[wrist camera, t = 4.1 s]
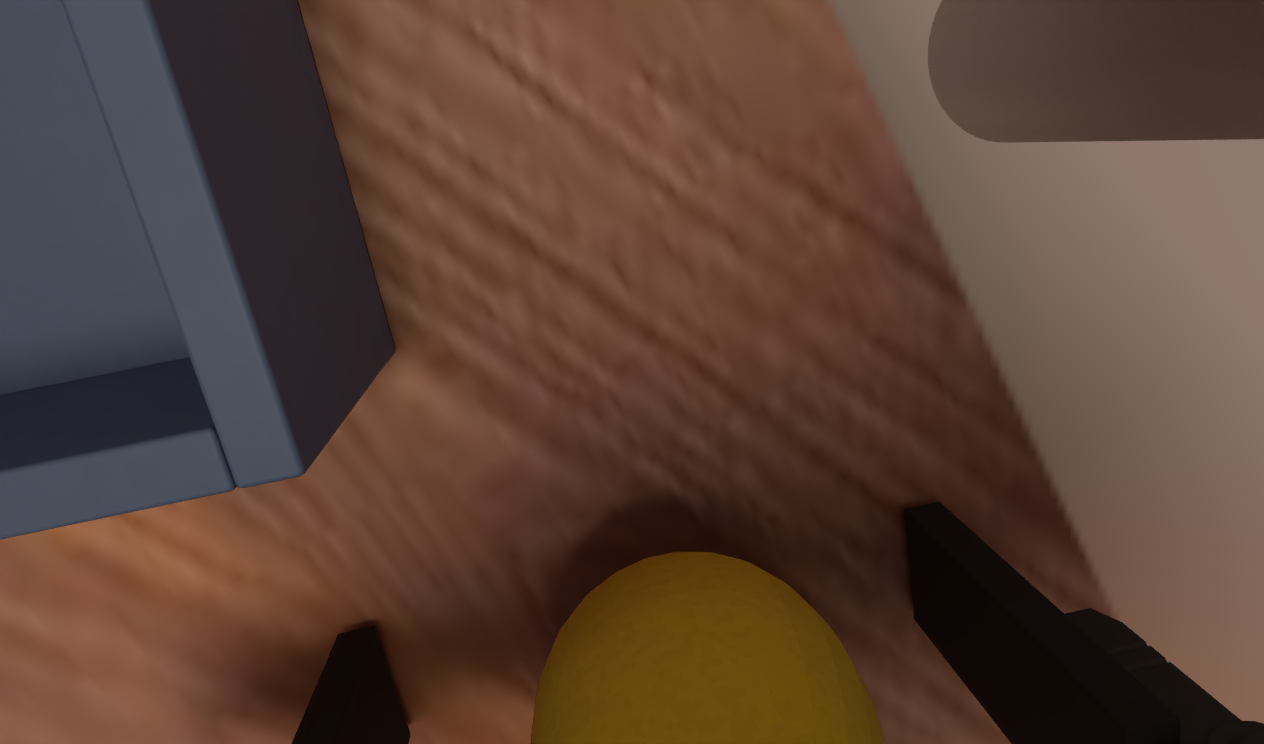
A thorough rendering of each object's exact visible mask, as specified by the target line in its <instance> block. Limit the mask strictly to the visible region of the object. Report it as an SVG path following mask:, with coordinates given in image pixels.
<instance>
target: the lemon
mask: <svg viewBox="0 0 1264 744" xmlns="http://www.w3.org/2000/svg"><path fill="white" fill-rule="evenodd" d="M531 744H884V740H883V735H882V731H881V727H880V724H879V721H878V717H877V714H876V711H875V708H874V706H873V703H872V701H871V698H870V696H869V693H868V691H867V689H866V687H865V685H864V683H863V681H862V679H861V677H860V676H859V674H858V672H857V670H856V668H855V666H854V664H853V663H852V661H851V659H850V657H849V655H848V653H847V652H846V650H845V648H844V646H843V644H842V643H841V641H840V640H839V638H838V637H837V635H836V634H835V632H834V631H833V630H832V629H831V627H830V626H829V625H828V624H827V622H826V621H825V620H824V619H823V618H822V617H821V616H820V615H819V614H818V613H817V612H816V611H815V610H814V609H813V608H812V607H811V606H810V605H809V604H808V603H807V602H806V601H805V600H804V599H803V598H802V597H801V596H800V595H799V594H798V593H797V592H796V591H795V590H793V589H792V588H791V587H790V586H789V585H787V584H786V583H785V582H783V581H782V580H780V579H778V578H777V577H775V576H773V575H771V574H769V573H768V572H766V571H764V570H762V569H760V568H759V567H757V566H755V565H753V564H751V563H749V562H747V561H744V560H741V559H737V558H733V557H729V556H725V555H721V554H717V553H713V552H672V553H667V554H663V555H658V556H653V557H649V558H645V559H643V560H640V561H638V562H636V563H634V564H632V565H630V566H628V567H626V568H623V569H621V570H619V571H617V572H615V573H614V574H612V575H611V576H610V577H609V578H607V579H606V580H605V581H604V582H602V583H601V584H600V585H598V586H597V587H596V588H595V589H593V590H592V591H591V592H590V593H588V594H587V595H586V596H585V598H584V599H583V600H582V601H581V603H580V604H579V605H578V607H577V608H576V609H575V610H574V612H573V613H572V614H571V615H570V617H569V618H568V619H567V621H566V622H565V623H564V625H563V626H562V627H561V629H560V631H559V633H558V635H557V637H556V640H555V642H554V644H553V647H552V649H551V652H550V654H549V656H548V659H547V661H546V663H545V666H544V668H543V671H542V674H541V677H540V680H539V684H538V689H537V695H536V702H535V710H534V718H533V727H532V735H531Z"/></svg>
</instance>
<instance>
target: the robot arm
mask: <svg viewBox="0 0 1264 744" xmlns="http://www.w3.org/2000/svg"><path fill="white" fill-rule="evenodd" d="M904 510H905V521H906V533H907V544H908V555H909V566H910V578H911V589H912V600H913V611H914V620H915V621H916V622H917V623H918V625H919V626H920V627H921V629H922V630H923V631H924V632H925V634H926V635H927V636H928V637H929V639H930V640H931V641H932V643H933V644H934V645H935V646H936V648H937V649H938V650H939V652H940V653H941V654H942V655H943V657H944V658H945V659H946V660H947V662H948V663H949V664H950V666H951V667H952V668H953V669H954V671H955V672H956V673H957V675H958V676H959V677H960V678H961V680H962V681H963V682H964V683H965V685H966V686H967V687H968V689H969V690H970V691H971V692H972V694H973V695H974V696H975V698H976V699H977V700H978V701H979V703H980V704H981V705H982V706H983V708H984V709H985V710H986V712H987V713H988V714H989V715H990V717H991V718H992V719H993V721H994V722H995V723H996V724H997V726H998V727H999V728H1000V729H1001V731H1002V732H1003V733H1004V735H1005V736H1006V737H1007V738H1008V740H1009V741H1010V742H1011V743H1012V744H1264V724H1263V723H1259V722H1255V721H1241V720H1240V719H1239V718H1238V717H1236V716H1235V715H1234V714H1233V713H1231V712H1230V711H1229V710H1228V709H1227V708H1225V707H1224V706H1223V705H1222V704H1220V703H1219V702H1218V701H1217V700H1216V699H1214V698H1213V697H1212V696H1211V695H1210V694H1208V693H1207V692H1206V691H1205V690H1204V689H1202V688H1201V687H1200V686H1199V685H1197V684H1196V683H1195V682H1194V681H1193V680H1191V679H1190V678H1189V677H1188V676H1186V675H1185V674H1184V673H1183V672H1181V671H1180V670H1179V669H1178V668H1177V667H1176V666H1174V665H1173V664H1172V663H1171V662H1169V663H1167V661H1166V659H1165V657H1163V656H1162V655H1161V654H1160V653H1159V652H1157V651H1156V650H1155V649H1154V648H1152V647H1151V646H1147V644H1146V642H1145V641H1144V640H1143V639H1142V638H1140V637H1139V636H1138V635H1137V634H1135V633H1134V632H1133V631H1132V630H1131V629H1129V628H1128V627H1127V626H1126V625H1125V624H1123V623H1122V622H1120V621H1118V620H1115V619H1113V618H1111V617H1109V616H1107V615H1104V614H1102V613H1100V612H1098V611H1096V610H1093V609H1091V608H1089V609H1084V610H1080V611H1075V612H1071V613H1067V614H1064V613H1063V612H1061V611H1060V610H1059V609H1058V608H1057V607H1056V606H1055V605H1054V604H1053V603H1051V602H1050V601H1049V600H1048V599H1047V598H1046V597H1045V596H1044V595H1043V594H1041V593H1040V592H1039V591H1038V590H1037V589H1036V588H1035V587H1034V586H1032V585H1031V584H1030V583H1029V582H1028V581H1027V580H1026V579H1025V578H1024V577H1022V576H1021V575H1020V574H1019V573H1018V572H1017V571H1016V570H1015V569H1014V568H1012V567H1011V566H1010V565H1009V564H1008V563H1007V562H1006V561H1005V560H1004V559H1002V558H1001V557H1000V556H999V555H998V554H997V553H996V552H995V551H994V550H992V549H991V548H990V547H989V546H988V545H987V544H986V543H985V542H983V541H982V540H981V539H980V538H979V537H978V536H977V535H976V534H975V533H973V532H972V531H971V530H970V529H969V528H968V527H967V526H966V525H965V524H963V523H962V522H961V521H960V520H959V519H958V518H957V517H956V516H955V515H953V514H952V513H951V512H950V511H949V510H948V509H947V508H946V507H945V506H943V505H942V504H941V503H940V502H934V503H930V504H925V505H921V506H916V507H912V508H907V509H904ZM409 739H410V731H409V728H408V725H407V722H406V719H405V716H404V713H403V710H402V707H401V703H400V700H399V697H398V694H397V691H396V688H395V685H394V682H393V679H392V676H391V673H390V669H389V666H388V663H387V660H386V657H385V654H384V651H383V648H382V645H381V642H380V639H379V636H378V632H377V629H376V626H372V627H368V628H363V629H359V630H354V631H349V632H345V633H340V634H338V635H337V638H336V640H335V643H334V645H333V647H332V650H331V652H330V654H329V657H328V659H327V661H326V664H325V666H324V668H323V671H322V673H321V676H320V678H319V680H318V683H317V685H316V687H315V690H314V692H313V694H312V697H311V699H310V702H309V704H308V706H307V709H306V711H305V713H304V716H303V718H302V720H301V723H300V725H299V728H298V730H297V732H296V735H295V737H294V739H293V742H292V744H408V743H409Z"/></svg>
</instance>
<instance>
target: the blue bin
mask: <svg viewBox="0 0 1264 744" xmlns="http://www.w3.org/2000/svg"><path fill="white" fill-rule="evenodd" d="M394 353H395V347H394V344H393V340H392V337H391V333H390V330H389V326H388V323H387V319H386V315H385V312H384V308H383V305H382V301H381V298H380V294H379V290H378V287H377V283H376V280H375V276H374V273H373V269H372V266H371V262H370V258H369V255H368V251H367V248H366V244H365V241H364V237H363V234H362V230H361V226H360V223H359V219H358V216H357V212H356V209H355V205H354V202H353V198H352V194H351V191H350V187H349V184H348V180H347V177H346V173H345V170H344V166H343V162H342V159H341V155H340V152H339V148H338V145H337V141H336V137H335V134H334V130H333V127H332V123H331V120H330V116H329V113H328V109H327V105H326V102H325V98H324V95H323V91H322V88H321V84H320V81H319V77H318V73H317V70H316V66H315V63H314V59H313V56H312V52H311V49H310V45H309V41H308V38H307V34H306V31H305V27H304V24H303V20H302V17H301V13H300V9H299V6H298V2H297V0H0V539H5V538H9V537H14V536H19V535H24V534H29V533H33V532H38V531H43V530H48V529H52V528H57V527H62V526H67V525H72V524H76V523H81V522H86V521H91V520H95V519H100V518H105V517H110V516H114V515H119V514H124V513H129V512H134V511H138V510H143V509H148V508H153V507H157V506H162V505H167V504H172V503H177V502H181V501H186V500H191V499H196V498H200V497H205V496H210V495H215V494H220V493H224V492H229V491H232V490H234V489H235V488H236V487H237V486H238V488H247V487H251V486H256V485H261V484H266V483H270V482H275V481H280V480H285V479H290V478H294V477H299V476H301V475H303V474H304V473H305V472H306V471H307V469H308V468H309V467H310V465H311V464H312V463H313V461H314V460H315V459H316V457H317V456H318V455H319V453H320V452H321V450H322V449H323V448H324V446H325V445H326V444H327V442H328V441H329V440H330V438H331V437H332V436H333V434H334V433H335V431H336V430H337V429H338V427H339V426H340V425H341V423H342V422H343V421H344V419H345V418H346V417H347V415H348V414H349V413H350V411H351V410H352V408H353V407H354V406H355V404H356V403H357V402H358V400H359V399H360V398H361V396H362V395H363V394H364V392H365V391H366V390H367V388H368V387H369V385H370V384H371V383H372V381H373V380H374V379H375V377H376V376H377V375H378V373H379V372H380V371H381V369H382V368H383V366H384V365H385V364H386V363H387V362H388V361H389V359H390V358H391V357H392V355H393V354H394Z"/></svg>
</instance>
